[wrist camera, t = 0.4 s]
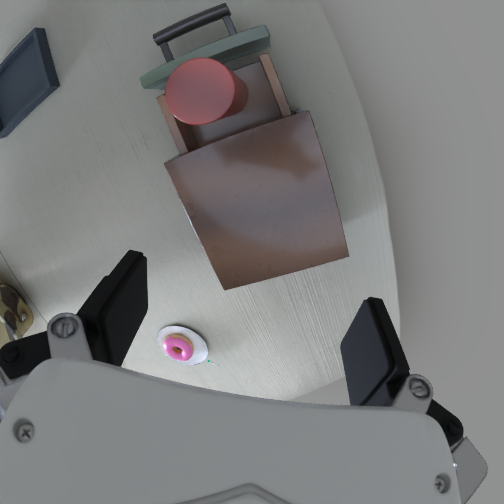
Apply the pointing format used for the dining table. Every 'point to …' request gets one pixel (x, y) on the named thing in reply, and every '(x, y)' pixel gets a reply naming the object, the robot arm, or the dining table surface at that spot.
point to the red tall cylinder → (204, 92)
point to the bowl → (12, 315)
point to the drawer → (255, 75)
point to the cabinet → (261, 201)
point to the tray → (25, 79)
